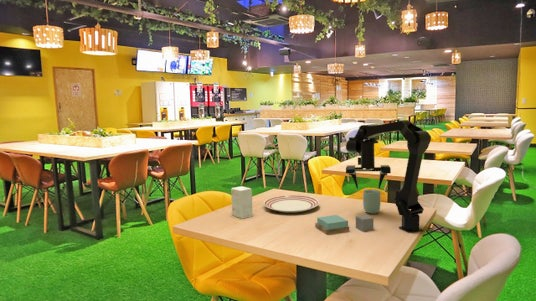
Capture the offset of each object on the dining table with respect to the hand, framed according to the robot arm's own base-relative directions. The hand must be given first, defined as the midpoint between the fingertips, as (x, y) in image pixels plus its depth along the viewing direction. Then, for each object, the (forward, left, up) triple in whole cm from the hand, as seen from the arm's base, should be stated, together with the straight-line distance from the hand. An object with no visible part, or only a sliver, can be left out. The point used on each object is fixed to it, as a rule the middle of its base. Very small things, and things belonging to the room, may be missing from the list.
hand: (368, 188), depth 167 cm
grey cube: (-13, +11, -13) cm, 21 cm away
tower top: (-8, +22, -11) cm, 26 cm away
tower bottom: (-8, +23, -14) cm, 27 cm away
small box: (+26, +51, -13) cm, 58 cm away
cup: (+5, -5, -13) cm, 15 cm away
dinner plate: (+29, +25, -13) cm, 40 cm away
